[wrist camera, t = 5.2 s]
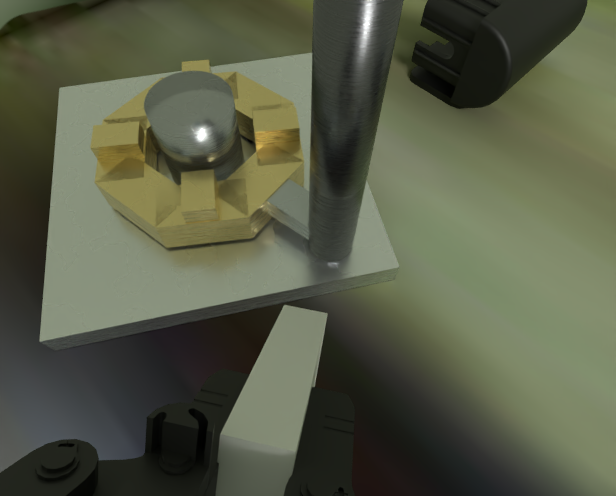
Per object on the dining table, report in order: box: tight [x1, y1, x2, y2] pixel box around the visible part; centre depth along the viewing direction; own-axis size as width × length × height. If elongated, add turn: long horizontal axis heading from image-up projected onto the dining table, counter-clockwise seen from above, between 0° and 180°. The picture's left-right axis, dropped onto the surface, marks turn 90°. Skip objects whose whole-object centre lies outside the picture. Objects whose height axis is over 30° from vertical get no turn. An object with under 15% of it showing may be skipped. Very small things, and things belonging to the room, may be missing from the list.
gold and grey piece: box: [90, 0, 404, 262], centre depth 18 cm, size 16×11×15 cm
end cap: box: [410, 0, 587, 108], centre depth 29 cm, size 10×7×7 cm
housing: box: [40, 53, 399, 351], centre depth 24 cm, size 18×18×6 cm
